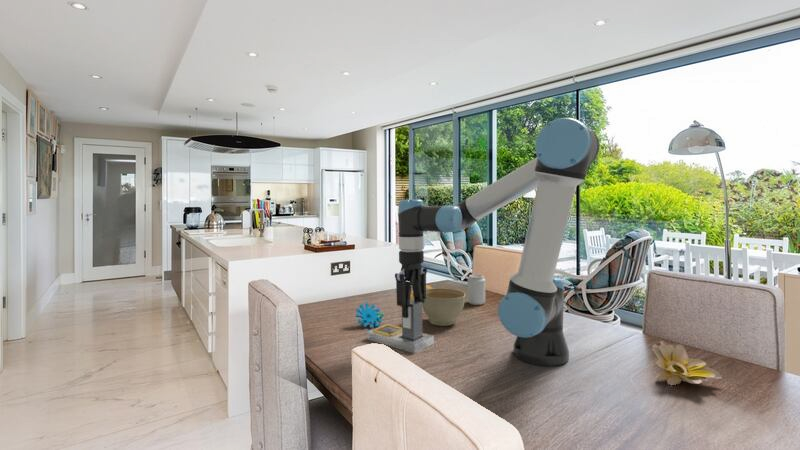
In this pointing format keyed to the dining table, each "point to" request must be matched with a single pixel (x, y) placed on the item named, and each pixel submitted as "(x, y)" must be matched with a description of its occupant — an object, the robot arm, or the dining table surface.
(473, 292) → the can
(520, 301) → the robot arm
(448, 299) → the planter bowl
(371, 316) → the gear
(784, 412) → the dining table surface
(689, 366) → the decorative flower
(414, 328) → the peg
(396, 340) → the grey slotted holder
